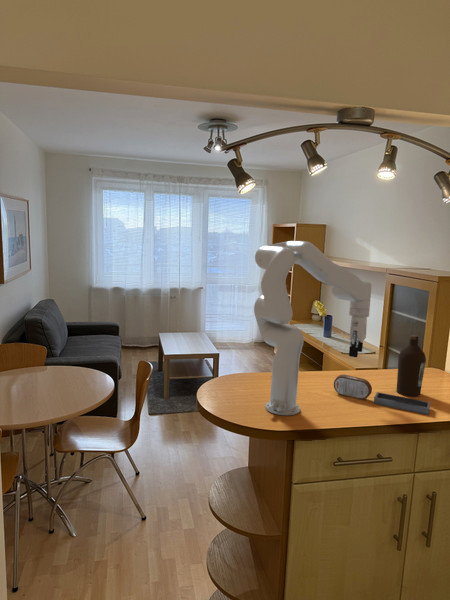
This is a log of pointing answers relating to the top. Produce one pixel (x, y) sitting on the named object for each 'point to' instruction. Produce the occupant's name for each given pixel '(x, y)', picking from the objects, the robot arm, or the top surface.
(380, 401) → the tray
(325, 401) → the top surface
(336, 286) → the robot arm
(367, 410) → the top surface
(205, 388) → the top surface
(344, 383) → the tin
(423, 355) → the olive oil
